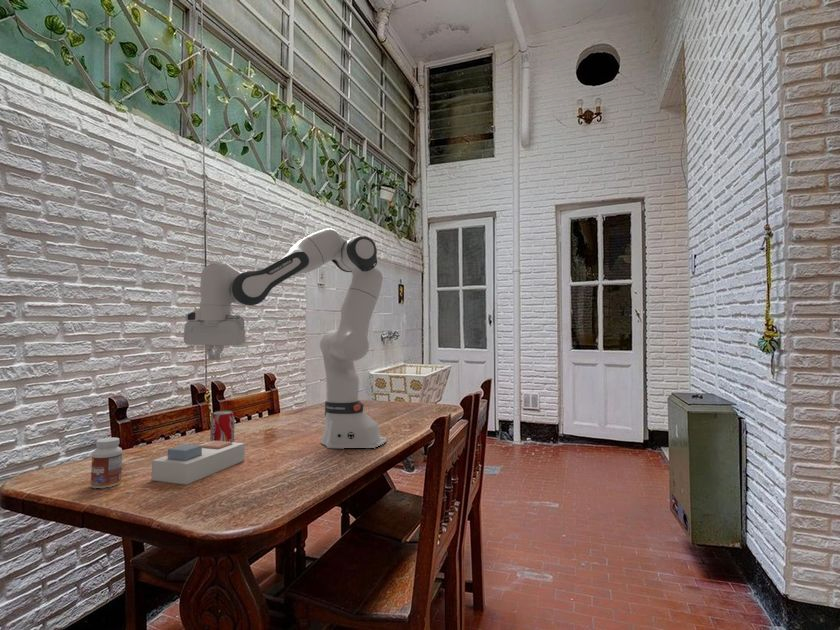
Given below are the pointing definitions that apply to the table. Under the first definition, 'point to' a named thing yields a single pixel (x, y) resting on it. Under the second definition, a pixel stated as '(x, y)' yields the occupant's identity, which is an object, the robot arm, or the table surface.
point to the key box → (197, 464)
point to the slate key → (184, 452)
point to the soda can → (222, 426)
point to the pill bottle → (106, 463)
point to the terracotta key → (217, 444)
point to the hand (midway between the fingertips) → (214, 360)
